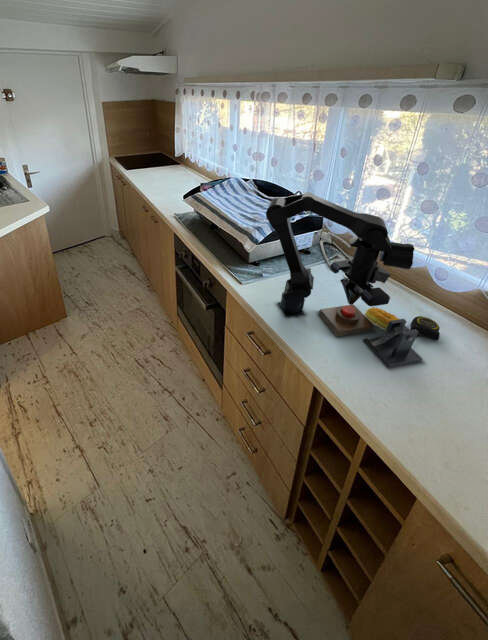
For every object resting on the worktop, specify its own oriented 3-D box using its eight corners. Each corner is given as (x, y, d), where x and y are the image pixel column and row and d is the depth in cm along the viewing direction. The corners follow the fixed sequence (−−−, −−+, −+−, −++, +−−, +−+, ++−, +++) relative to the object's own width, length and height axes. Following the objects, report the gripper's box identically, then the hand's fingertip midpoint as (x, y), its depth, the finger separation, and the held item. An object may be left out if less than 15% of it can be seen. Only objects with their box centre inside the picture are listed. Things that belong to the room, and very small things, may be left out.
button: (346, 318, 93) (347, 314, 92) (338, 310, 96) (340, 306, 95) (356, 316, 94) (358, 312, 93) (349, 309, 97) (350, 304, 96)
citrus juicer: (351, 246, 118) (323, 219, 145) (326, 257, 120) (303, 228, 148) (360, 268, 121) (332, 238, 149) (336, 279, 124) (312, 247, 151)
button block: (337, 336, 91) (340, 326, 90) (318, 314, 100) (321, 304, 98) (372, 331, 93) (376, 321, 91) (351, 309, 102) (354, 300, 100)
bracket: (388, 367, 82) (400, 341, 77) (366, 342, 89) (375, 317, 85) (421, 361, 83) (434, 335, 78) (396, 337, 91) (406, 312, 86)
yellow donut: (394, 312, 97) (388, 322, 98) (363, 301, 97) (357, 311, 98) (415, 330, 87) (408, 341, 88) (380, 318, 87) (374, 329, 88)
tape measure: (408, 334, 92) (412, 325, 90) (410, 321, 97) (414, 312, 95) (435, 344, 88) (440, 335, 87) (436, 330, 93) (441, 321, 91)
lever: (376, 357, 82) (374, 352, 81) (363, 343, 86) (361, 338, 85) (414, 338, 81) (413, 332, 80) (400, 324, 85) (398, 319, 84)
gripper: (416, 276, 79) (397, 321, 86) (367, 242, 95) (354, 282, 102) (378, 281, 77) (361, 327, 85) (334, 245, 93) (324, 286, 101)
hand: (350, 303), depth 93 cm, fingers closed
